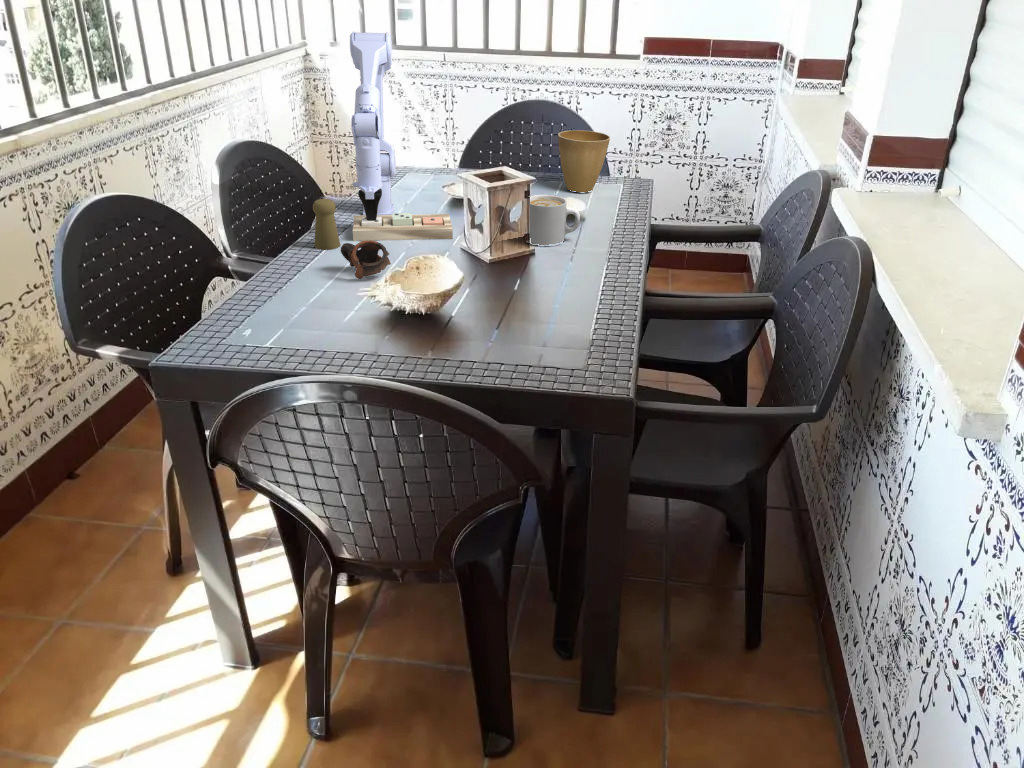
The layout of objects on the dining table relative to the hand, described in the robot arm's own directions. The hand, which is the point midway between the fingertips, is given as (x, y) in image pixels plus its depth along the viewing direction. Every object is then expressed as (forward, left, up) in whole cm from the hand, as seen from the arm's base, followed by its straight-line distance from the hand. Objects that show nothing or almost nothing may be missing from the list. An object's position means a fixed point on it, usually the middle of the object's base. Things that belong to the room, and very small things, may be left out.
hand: (371, 220), depth 202 cm
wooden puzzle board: (0, +8, -3) cm, 8 cm away
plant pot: (-35, +61, -3) cm, 70 cm away
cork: (+9, -10, -3) cm, 14 cm away
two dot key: (0, 0, -4) cm, 4 cm away
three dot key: (0, +8, -3) cm, 8 cm away
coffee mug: (+9, +44, -3) cm, 45 cm away
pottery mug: (+27, -1, -3) cm, 27 cm away
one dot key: (0, +15, -4) cm, 16 cm away
